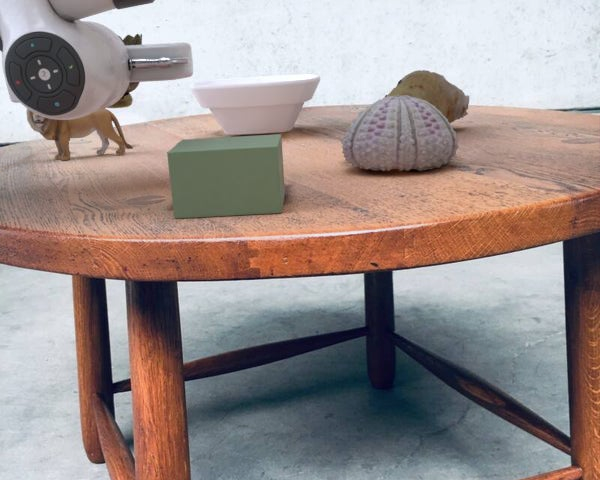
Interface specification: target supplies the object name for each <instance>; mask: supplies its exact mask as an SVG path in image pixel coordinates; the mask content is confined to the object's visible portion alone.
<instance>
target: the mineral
mask: <svg viewBox="0 0 600 480" xmlns="http://www.w3.org/2000/svg"><path fill="white" fill-rule="evenodd" d="M397 95H398V96H403V95H408V96H411V97H414V98H419V99H422V100H425V101H428V103H430V104H432V105H433V106H435V107H436V108H437V109H438V110H439V111H440V112H441V113H442V115H444V116H445V117H446V119H447V120H448V122H449V123H450V124H452V123H453V122H455V121H457V120H460V119H463V118H465V116H467V115H469V113H468V111H467V110H468V109H469V104H470V95H468V94H467V95H465V92H464V91H463V89H461V88H459V87H458V86H456V84H453V83H452V82H449V81H448V80H447V79H446V77H444V75H442V74H439V73H438V72H435V71H430V70H425V69H423V70H422V69H419V70H414V71H411V72H410V73H407V74H406V75H404V76H403V77H402V78H401V79H400V80H399V81H398V82H397V85H396V86H395V87H393V88H392V90H390V92H389V93H388V94H385V95H384V97H383V98H385V97H387V96H397ZM378 100H381V99H378Z"/></svg>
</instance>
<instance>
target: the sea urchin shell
mask: <svg viewBox="0 0 600 480" xmlns="http://www.w3.org/2000/svg"><path fill="white" fill-rule="evenodd" d="M384 97H385V96H384ZM384 97H383V98H381V99H380V100H379V99H377V100H376V101H374V102H372V104H369V105H367V106H366V107H365V109H364V110H362V111H359V112H358V115H357V116H356V118H353V119H352V120H351V121H352V123H351V125H349V126H348V127H347V131H346V132H345V133H344V134H343V135H342V136H343V140H342V141H340V143H341V148H342V151H341V153H342V154H343V158H345V161H346V162H347V163H348V164H351V166H354V168H359V169H364V170H371V171H383V172H385V171H388V172H389V171H392V170H399V171H400V172H402V171H407V172H408V171H411V170H417V171H419V172H420V171H427V170H433V169H435V168H440V167H442V165H447V163H450V162H451V161H453V157H455V156H456V154H457V151H458V149H459V147H460V146H459V143H458V142H459V138H458V137H457V131H455V130H454V126H452V123H449V122H448V120H447V119H446V117H445V116H444V115H442V113H441V112H440V111H439V110H438V109H437V108H436V107H435V106H433V105H432V104H430V103H428V101H425V100H422V99H419V98H414V97H411V96H408V95H403V96H398V95H397V96H387V97H385V98H384Z"/></svg>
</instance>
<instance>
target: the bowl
mask: <svg viewBox="0 0 600 480" xmlns="http://www.w3.org/2000/svg"><path fill="white" fill-rule="evenodd" d="M320 82H321V76H320V75H319V74H315V73H314V74H313V73H300V74H299V73H298V74H297V73H296V74H278V75H259V76H243V77H242V76H241V77H229V78H216V79H205V80H200V81H199V80H198V81H195V82H191V83H190V84H189V90H190V91H191V93H192V95H193V96H194V98H195V99H196V101H197V103H198V104H199V105H200V107H201V108H203V109H208V110H209V111H210V112H211V114H212V116H213V117H214V118H215V120H216V121H217V123H218V125H219V126H220V128H221V129H222V131H223V133H224V134H225V135H227V136H240V135H243V136H246V135H265V134H276V133H285V132H288V131H291V130H292V129H293V128H294V127H295V124H296V122H297V120H298V117H299V115H300V113H301V111H302V110H303V109H302V108H303V106H304V105H305V103H306V102H308V101H311V100H312V99H313V97H314V95H315V93H316V90H317V89H318V86H319V84H320Z"/></svg>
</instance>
